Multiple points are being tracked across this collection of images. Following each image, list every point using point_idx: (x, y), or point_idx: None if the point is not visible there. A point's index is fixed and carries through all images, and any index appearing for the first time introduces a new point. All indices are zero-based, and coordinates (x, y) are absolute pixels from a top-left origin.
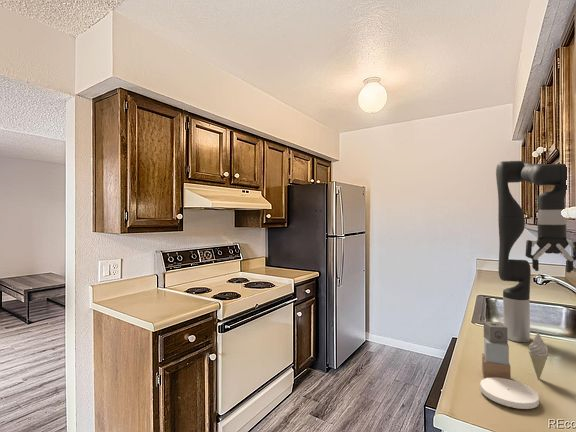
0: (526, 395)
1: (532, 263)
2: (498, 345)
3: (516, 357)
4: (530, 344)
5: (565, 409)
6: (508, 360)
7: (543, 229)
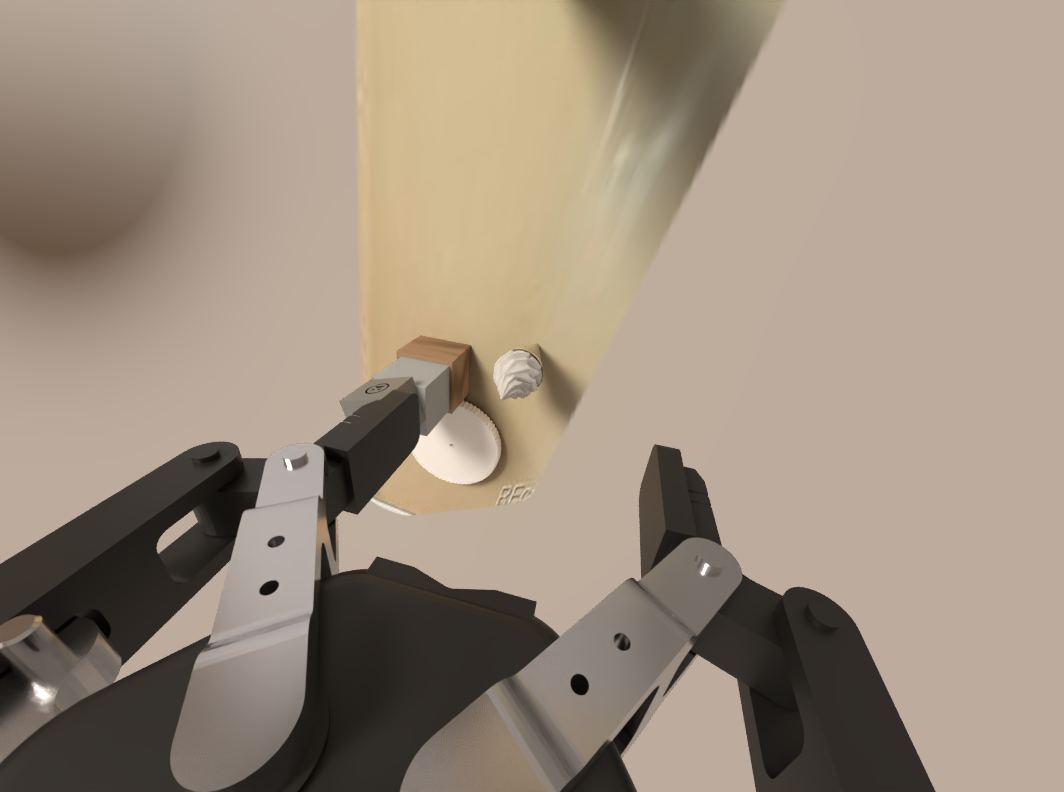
0: (477, 460)
1: (337, 433)
2: None
3: (520, 200)
4: (494, 378)
5: (540, 459)
6: (443, 416)
7: None
